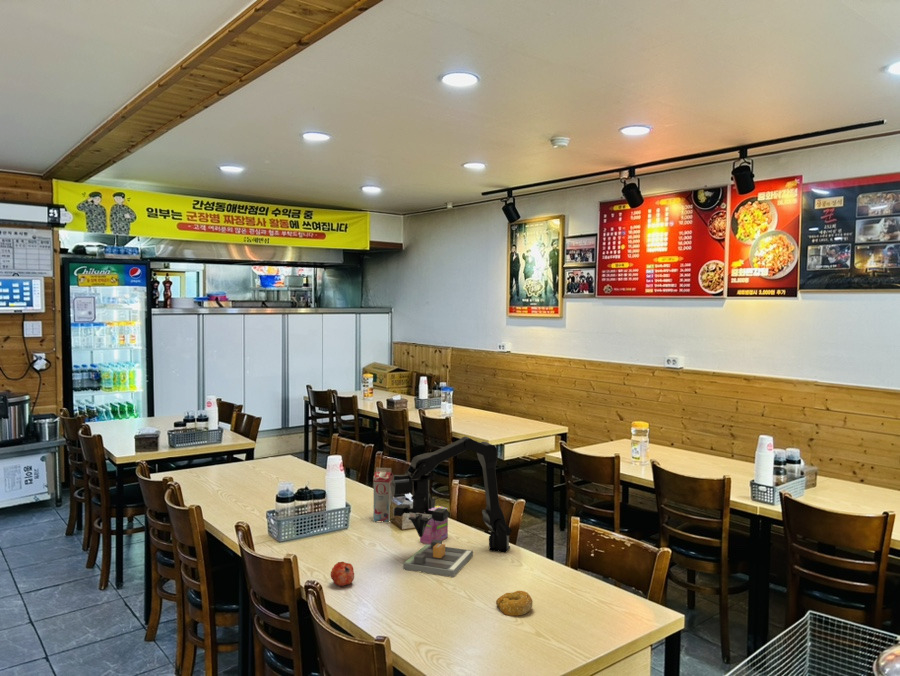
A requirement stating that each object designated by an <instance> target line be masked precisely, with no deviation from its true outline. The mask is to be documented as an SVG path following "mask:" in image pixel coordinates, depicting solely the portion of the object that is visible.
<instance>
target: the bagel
mask: <svg viewBox="0 0 900 676" xmlns="http://www.w3.org/2000/svg"><path fill="white" fill-rule="evenodd" d="M533 603H534V600H533V598H532V597H531V595H530V594H529V593H528V592H526V591H524V590H516V591H514V592H505V593H504V594H502V595H501V596H499V597H498V598H497V599H496V601H495V604H496V606H497V607H498V608H499V609H500V611H501V613H503V614H505V616H510V617H519V616H523V615H526V614H527V613H529V612H530V611H531V609H532V608H533Z"/></svg>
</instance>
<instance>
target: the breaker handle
mask: <svg viewBox="0 0 900 676" xmlns="http://www.w3.org/2000/svg"><path fill="white" fill-rule="evenodd" d="M445 547H446V544H445V543H442V544H439V543H437V544H436V545H435V546H434V547H433V557H436V558H442V557H443V556H444V555H445Z"/></svg>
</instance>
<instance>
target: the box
mask: <svg viewBox="0 0 900 676" xmlns="http://www.w3.org/2000/svg"><path fill="white" fill-rule="evenodd" d="M437 508H441V509H447V511H448V512H449V508H448V507H444V506H441V505H435V508H431V509H429V510H431V511H435V510H436V509H437ZM448 519H449V516H448V517H447V518H446V519H445V520H444V521H434V520H433V519H431V520H429V521H428V523H427V525H426V528H425V530H424V533H423V536H422V537H419V543H421V544H424V543H425V544H424V545H426V544H430V545H431V542H432V541H433V540H434V539H435V540H442V541H443V540H446V539H448V538H449V537H448V536H449V534H448V533H449V530H448V529H449V528H448V527H449V523H448V522H449V520H448Z"/></svg>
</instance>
